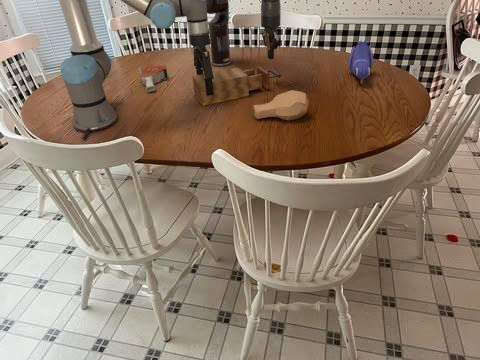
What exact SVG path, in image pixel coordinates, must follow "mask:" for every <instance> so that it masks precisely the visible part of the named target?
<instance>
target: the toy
mask: <svg viewBox="0 0 480 360" xmlns="http://www.w3.org/2000/svg"><path fill="white" fill-rule="evenodd" d="M369 43H370V41H368V40H364V41H362V40H359V41H357V44H356V45H354V46H353V47H352V49H351V50H350V53H349V57H348V64H347V65H348V70H349V71H350V72H351V73H352V74H353V75H354V76H355V77H356V78H358V80H359V81H360V85H363V83H364V80H365V79H367V78H368V77H369V76H370V74H371V70H372V68H373V64H374V57H373V51H372V47H371V45H368V44H369Z"/></svg>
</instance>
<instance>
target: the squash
mask: <svg viewBox="0 0 480 360" xmlns="http://www.w3.org/2000/svg"><path fill="white" fill-rule="evenodd" d="M309 104H310V101H309V98H308V95H307V93H305V92H303V91H298V90H293V89H291V90H288V91H285V92H283V93H279V94H277V95H276V96H275V97H273V99H272V100H271V101H269V102H266V103H262V104H254V105H253V107H252V110H253V112H254V115H253V116H254V117H255V119H256V120H259V119H263V118H269V117H270V118H271V117H272V118H279V119H280V120H285V121H293V120H298V119H300V118H302V117H303V116H305V115H306V114H307V112H308V108H309Z"/></svg>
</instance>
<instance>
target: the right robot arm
mask: <svg viewBox="0 0 480 360" xmlns="http://www.w3.org/2000/svg"><path fill="white" fill-rule="evenodd" d="M260 3H261V4H260V26H261V28H264V29H263V30H264V31H262V32H261V36H262V41H263V44H264V47H265V48H266V50H267V59H268V60H274V58H275V50H277V49H278V47H279V45H280V42H281V41H282V40H281V37H279V36H278V35H279V33H278V28H279V27H280V26H281V10H282V8H281V0H261V1H260ZM229 5H230V4H229V0H206V7H207V15H214V16H213V17H212V19H210V21H208V22H209V25H208V28H209V31H208V33H209V36H210V43H209V44H210V54H211V66H215V67H225V66H229V65H230V64H231V63H232V61H231V51H230V35H229V21H230V15H229V14H230V8H229V7H230V6H229Z"/></svg>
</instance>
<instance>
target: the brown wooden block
mask: <svg viewBox="0 0 480 360" xmlns="http://www.w3.org/2000/svg"><path fill="white" fill-rule="evenodd" d="M243 71H244V70H242V69H241V68H239V67H233V68H227V69H223V70H217V71H213V76H214V79H212V84H213V93H214V95H210V96H207V95H206V87H205V80H204V78H205V75H204V73H203V74H201V75H197V74H195V75H192V76H191V78H192V84H193V91H194V97H195V98H196V99H197V100H198V102H199V103H200V104H201V106H203V107H204V106H208V105H213V104H218V103H221V102H226V101H231V100H235V99H240V98H244V97H249V96H250V91H249V85H248V75H247V74H245V73H244V72H243Z"/></svg>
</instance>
